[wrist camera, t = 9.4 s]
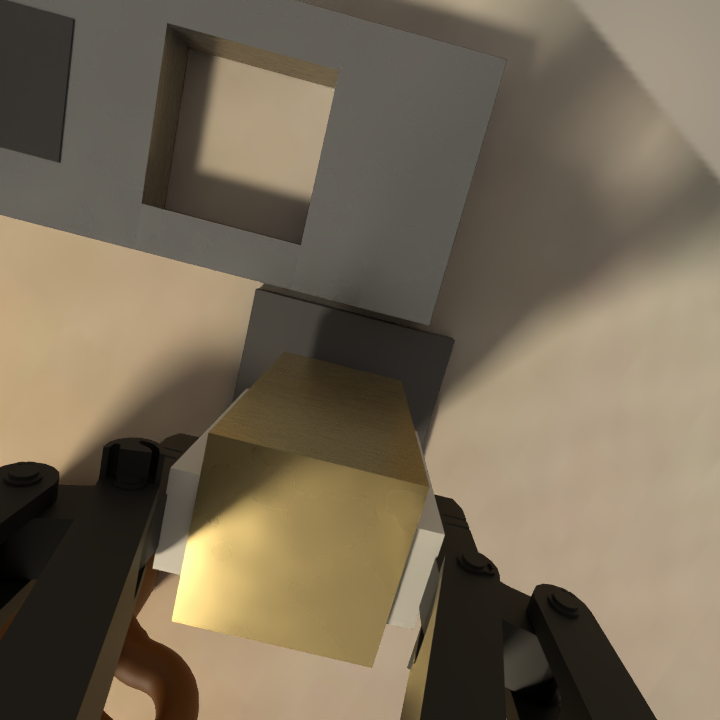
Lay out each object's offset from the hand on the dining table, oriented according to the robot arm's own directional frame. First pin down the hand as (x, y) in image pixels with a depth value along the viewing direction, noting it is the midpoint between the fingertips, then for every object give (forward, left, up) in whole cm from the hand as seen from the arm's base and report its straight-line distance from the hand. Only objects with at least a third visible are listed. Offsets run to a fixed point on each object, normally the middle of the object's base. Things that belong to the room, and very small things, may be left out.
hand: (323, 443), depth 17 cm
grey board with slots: (-10, +10, -5) cm, 15 cm away
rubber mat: (0, 0, -5) cm, 5 cm away
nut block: (0, 0, -2) cm, 2 cm away
